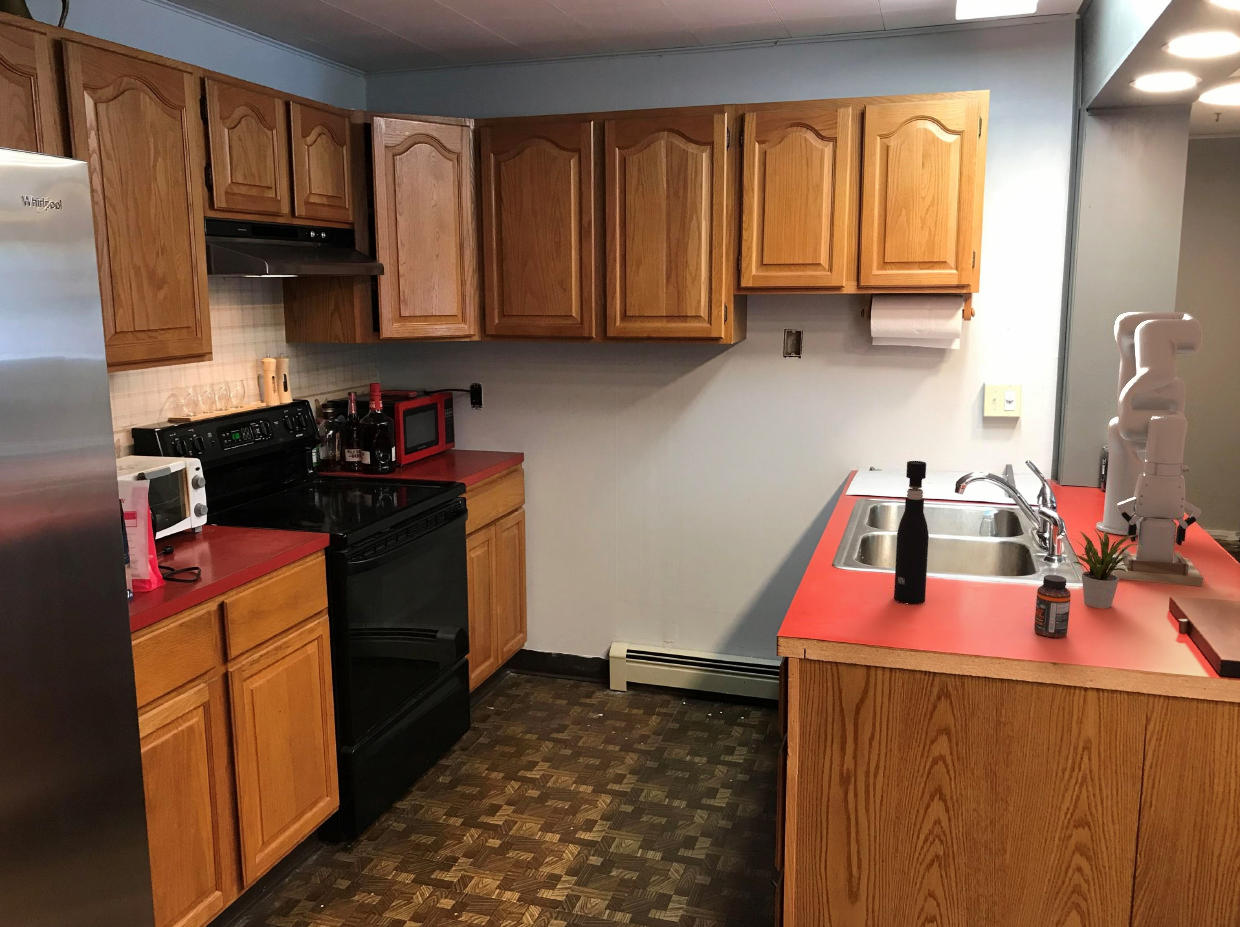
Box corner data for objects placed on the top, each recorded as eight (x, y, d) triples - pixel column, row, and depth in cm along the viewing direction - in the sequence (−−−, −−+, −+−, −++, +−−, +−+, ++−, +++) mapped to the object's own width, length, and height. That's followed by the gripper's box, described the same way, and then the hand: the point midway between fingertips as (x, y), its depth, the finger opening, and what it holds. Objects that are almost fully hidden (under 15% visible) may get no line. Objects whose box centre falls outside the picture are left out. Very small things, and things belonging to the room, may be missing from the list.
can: (1164, 560, 228) (1169, 511, 226) (1177, 570, 221) (1183, 519, 219) (1130, 560, 229) (1135, 510, 227) (1142, 569, 222) (1147, 519, 220)
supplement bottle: (1027, 628, 191) (1032, 573, 189) (1057, 627, 191) (1061, 572, 189) (1043, 639, 185) (1048, 582, 183) (1073, 638, 185) (1078, 581, 183)
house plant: (1152, 604, 204) (1160, 529, 201) (1130, 621, 195) (1137, 542, 192) (1081, 590, 214) (1088, 518, 211) (1057, 604, 204) (1063, 529, 201)
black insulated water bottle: (925, 596, 210) (933, 460, 204) (924, 605, 204) (932, 465, 199) (894, 593, 212) (901, 458, 207) (892, 602, 206) (899, 464, 201)
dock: (1104, 559, 237) (1105, 542, 236) (1187, 566, 231) (1189, 548, 230) (1112, 578, 222) (1114, 559, 222) (1202, 586, 216) (1204, 566, 216)
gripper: (1202, 468, 221) (1194, 541, 225) (1118, 464, 227) (1111, 535, 230) (1209, 474, 214) (1201, 549, 218) (1122, 469, 220) (1115, 543, 223)
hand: (1155, 542), depth 224 cm, fingers open, 9 cm apart
